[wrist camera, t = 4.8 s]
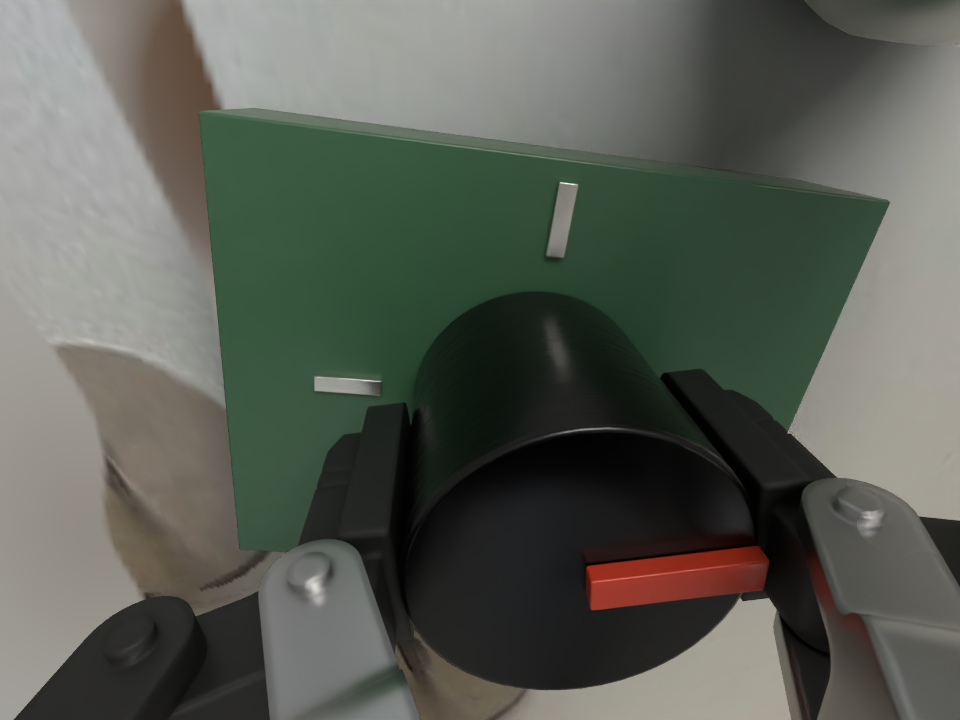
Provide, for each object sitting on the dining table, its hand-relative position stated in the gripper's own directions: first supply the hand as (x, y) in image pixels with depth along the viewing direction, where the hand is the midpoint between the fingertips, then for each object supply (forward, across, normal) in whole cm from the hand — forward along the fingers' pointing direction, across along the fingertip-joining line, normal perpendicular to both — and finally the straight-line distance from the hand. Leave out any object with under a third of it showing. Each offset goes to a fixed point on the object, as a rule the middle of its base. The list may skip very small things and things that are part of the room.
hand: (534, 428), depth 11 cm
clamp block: (+4, 0, 0) cm, 4 cm away
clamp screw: (+1, 0, 0) cm, 1 cm away
